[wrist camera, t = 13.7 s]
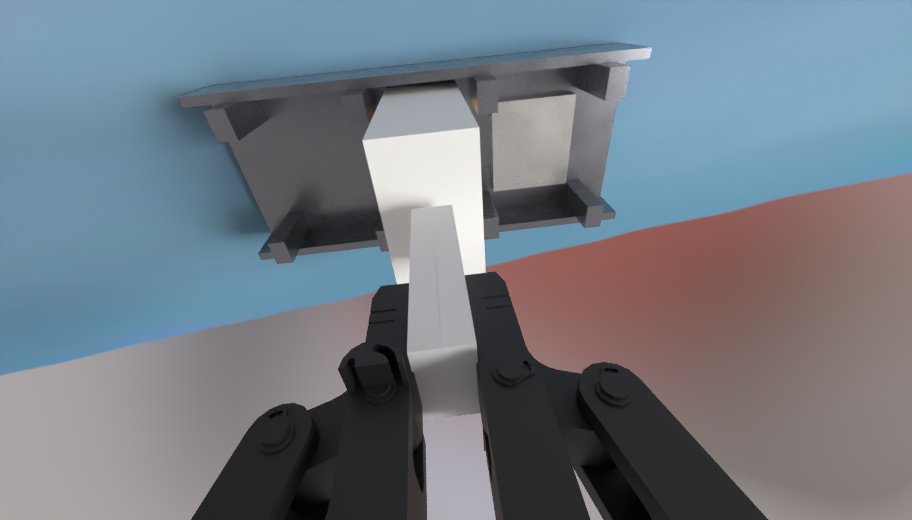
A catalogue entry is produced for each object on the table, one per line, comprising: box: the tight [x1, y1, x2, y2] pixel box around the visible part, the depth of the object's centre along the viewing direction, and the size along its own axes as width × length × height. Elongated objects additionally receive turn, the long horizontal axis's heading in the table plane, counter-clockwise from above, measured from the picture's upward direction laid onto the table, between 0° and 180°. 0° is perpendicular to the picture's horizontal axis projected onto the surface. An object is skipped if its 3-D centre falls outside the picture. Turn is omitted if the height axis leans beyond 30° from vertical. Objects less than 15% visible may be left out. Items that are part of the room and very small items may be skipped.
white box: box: [362, 81, 486, 284], centre depth 18 cm, size 4×8×10 cm, turn 5°
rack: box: [177, 43, 652, 264], centre depth 21 cm, size 24×11×5 cm, turn 95°
